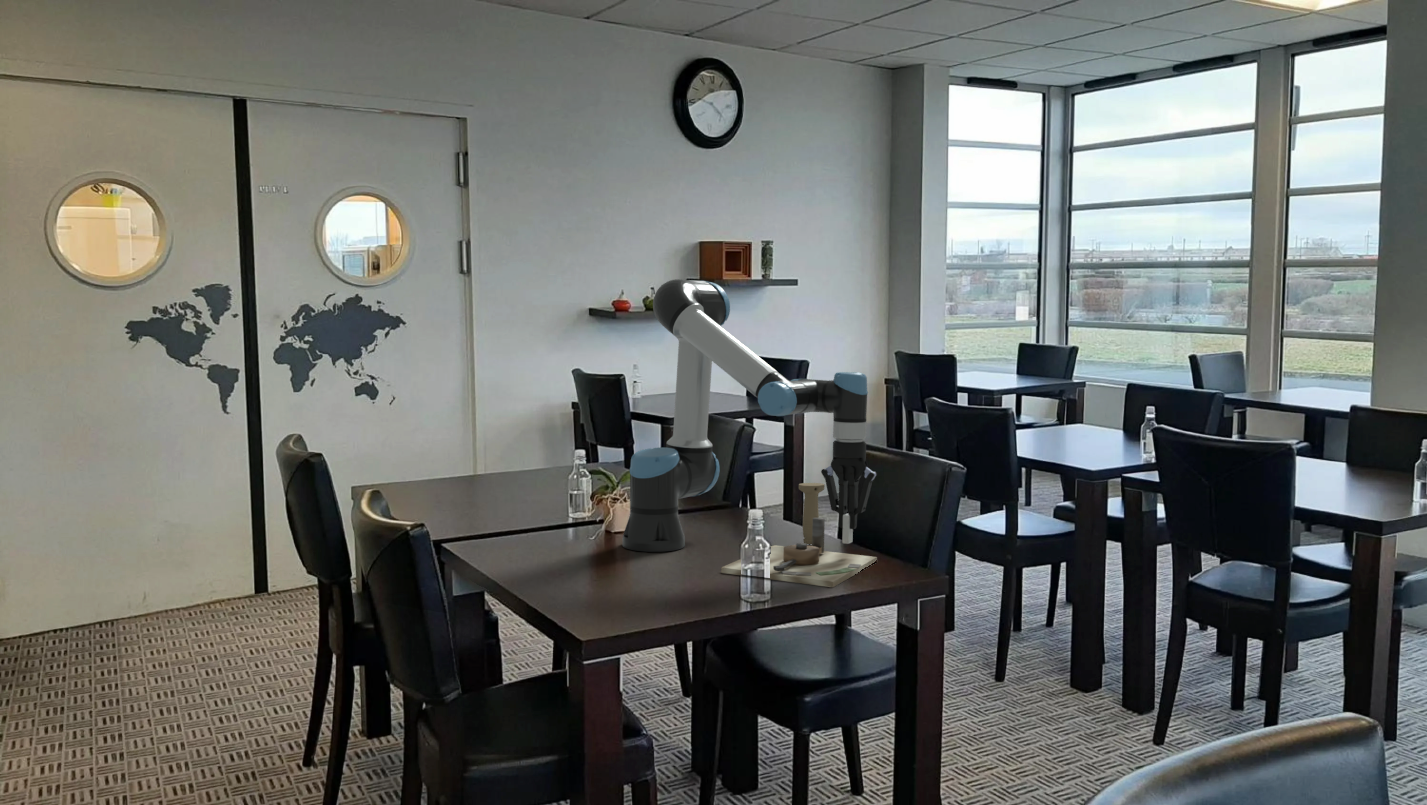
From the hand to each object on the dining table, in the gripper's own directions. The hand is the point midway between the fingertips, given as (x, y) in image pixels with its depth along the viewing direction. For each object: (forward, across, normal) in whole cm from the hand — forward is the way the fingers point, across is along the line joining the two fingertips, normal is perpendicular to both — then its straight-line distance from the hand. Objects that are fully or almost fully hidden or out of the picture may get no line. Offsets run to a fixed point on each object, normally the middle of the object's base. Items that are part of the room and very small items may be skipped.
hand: (847, 542), depth 255 cm
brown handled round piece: (+3, +7, +11) cm, 14 cm away
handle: (+5, +15, -15) cm, 22 cm away
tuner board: (+5, +7, +10) cm, 13 cm away
